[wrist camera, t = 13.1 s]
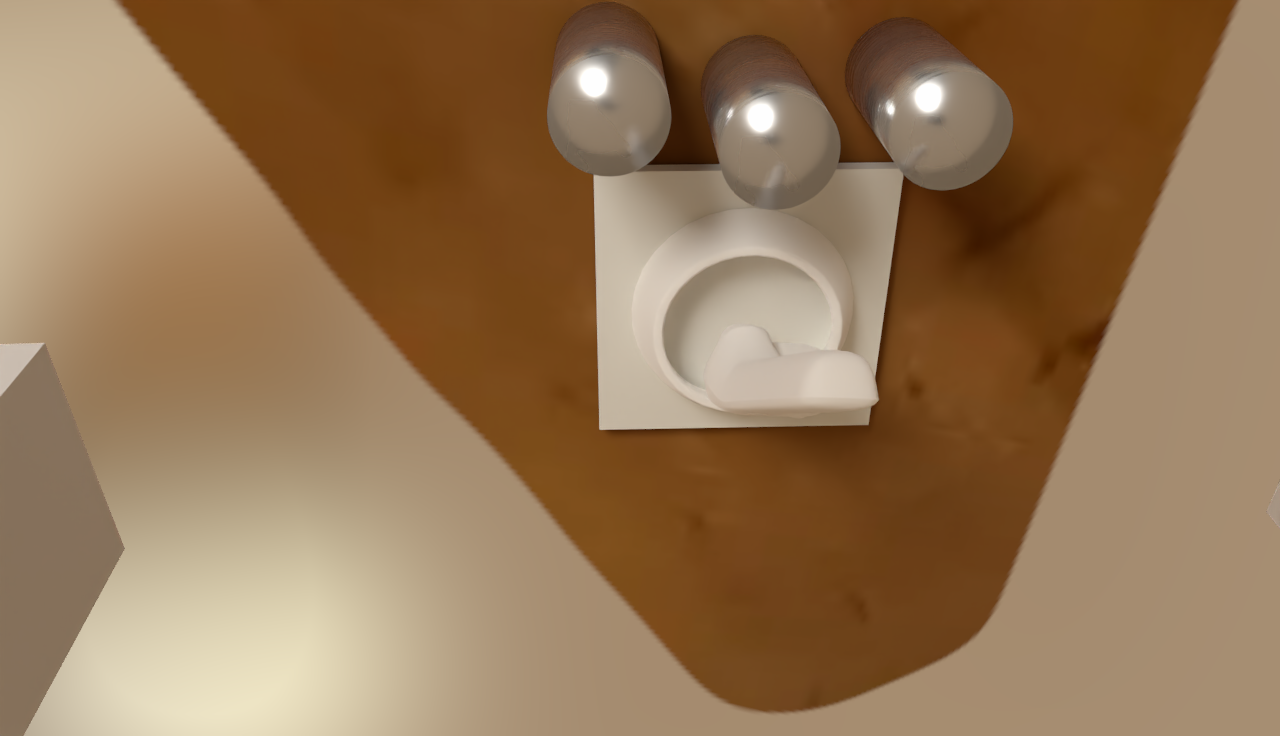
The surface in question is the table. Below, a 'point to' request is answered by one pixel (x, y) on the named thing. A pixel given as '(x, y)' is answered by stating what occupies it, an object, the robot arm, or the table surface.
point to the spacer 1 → (608, 91)
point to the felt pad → (731, 286)
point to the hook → (745, 355)
